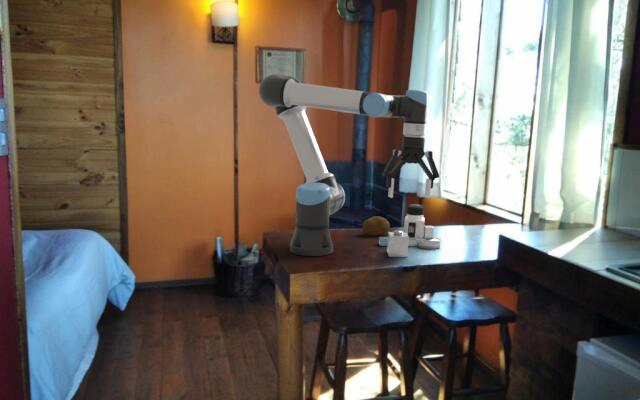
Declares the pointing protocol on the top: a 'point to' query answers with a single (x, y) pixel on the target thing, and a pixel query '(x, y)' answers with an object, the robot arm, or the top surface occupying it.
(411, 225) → the container
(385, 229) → the potato
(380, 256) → the top surface
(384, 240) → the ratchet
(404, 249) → the cube with chrome knob
